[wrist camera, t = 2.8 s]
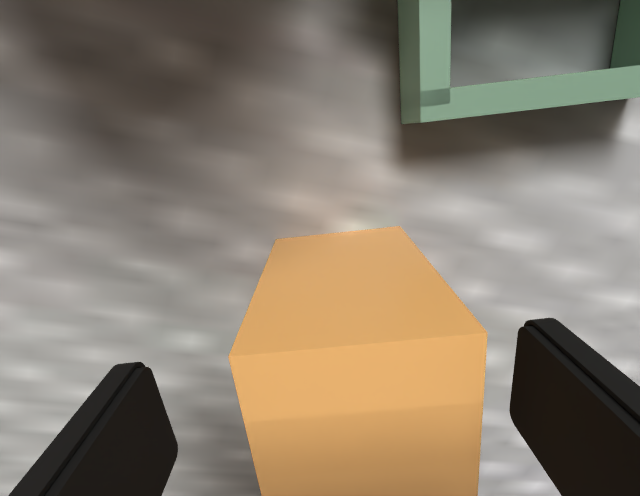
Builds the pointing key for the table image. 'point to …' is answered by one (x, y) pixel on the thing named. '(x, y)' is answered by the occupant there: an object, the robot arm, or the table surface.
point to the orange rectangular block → (359, 371)
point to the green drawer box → (508, 96)
